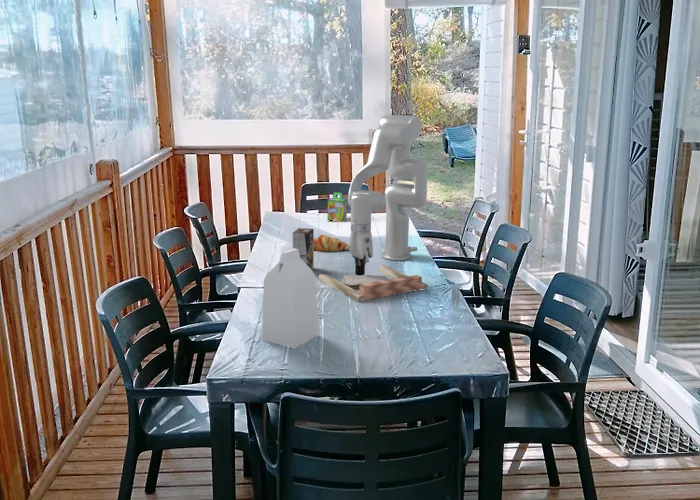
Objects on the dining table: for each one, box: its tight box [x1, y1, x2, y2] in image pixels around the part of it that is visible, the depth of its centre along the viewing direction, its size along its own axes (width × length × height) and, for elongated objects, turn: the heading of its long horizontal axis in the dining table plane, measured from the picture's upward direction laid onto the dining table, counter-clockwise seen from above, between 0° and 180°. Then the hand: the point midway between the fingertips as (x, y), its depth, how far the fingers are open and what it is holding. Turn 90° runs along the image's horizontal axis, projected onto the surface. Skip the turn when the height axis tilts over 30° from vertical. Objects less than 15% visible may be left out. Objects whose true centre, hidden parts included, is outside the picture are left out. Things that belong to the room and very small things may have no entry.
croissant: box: [313, 234, 350, 253], centre depth 291 cm, size 21×10×8 cm, turn 84°
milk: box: [261, 248, 320, 349], centre depth 187 cm, size 12×12×26 cm
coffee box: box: [292, 227, 315, 271], centre depth 256 cm, size 9×6×16 cm
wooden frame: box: [318, 264, 429, 303], centre depth 240 cm, size 29×29×5 cm
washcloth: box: [340, 274, 389, 290], centre depth 241 cm, size 12×18×3 cm, turn 95°
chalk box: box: [326, 192, 348, 222], centre depth 352 cm, size 9×9×15 cm
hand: (360, 274), depth 248 cm, fingers closed
